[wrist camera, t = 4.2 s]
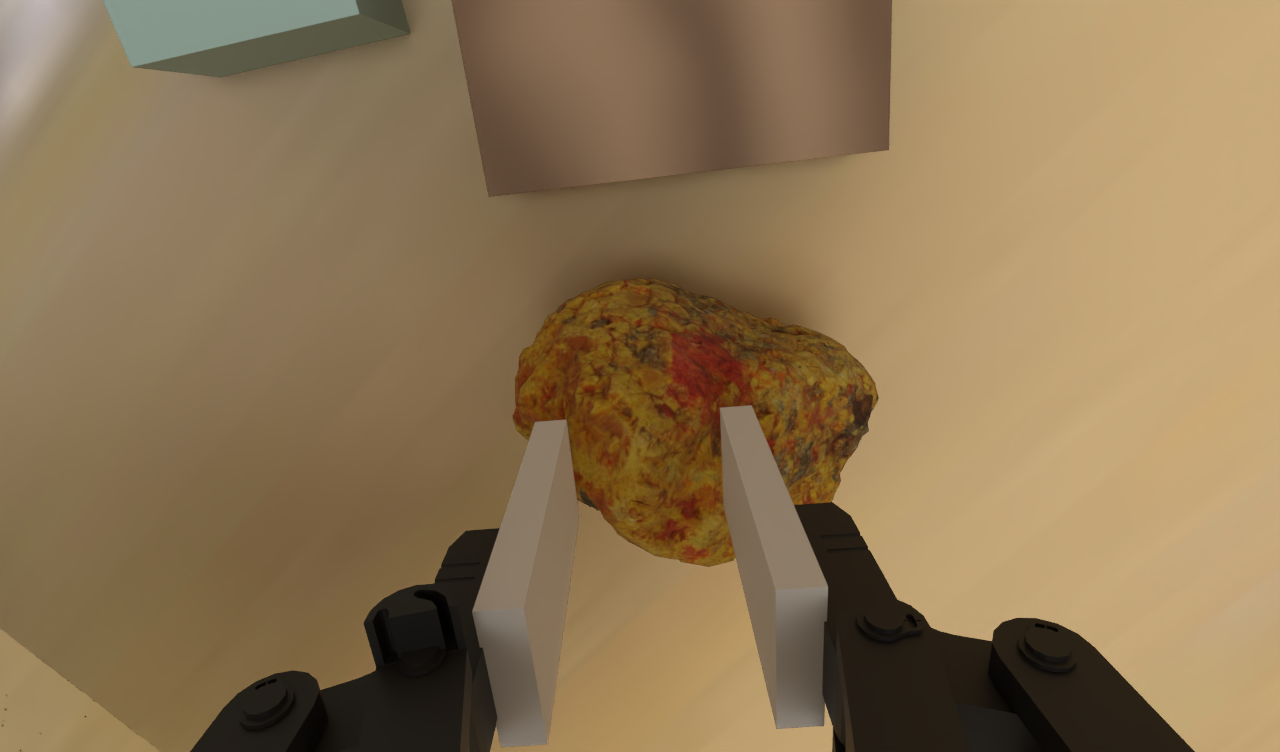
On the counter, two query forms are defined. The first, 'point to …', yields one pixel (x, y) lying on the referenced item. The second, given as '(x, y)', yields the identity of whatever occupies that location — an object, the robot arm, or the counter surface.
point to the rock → (686, 407)
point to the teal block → (246, 31)
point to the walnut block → (670, 86)
